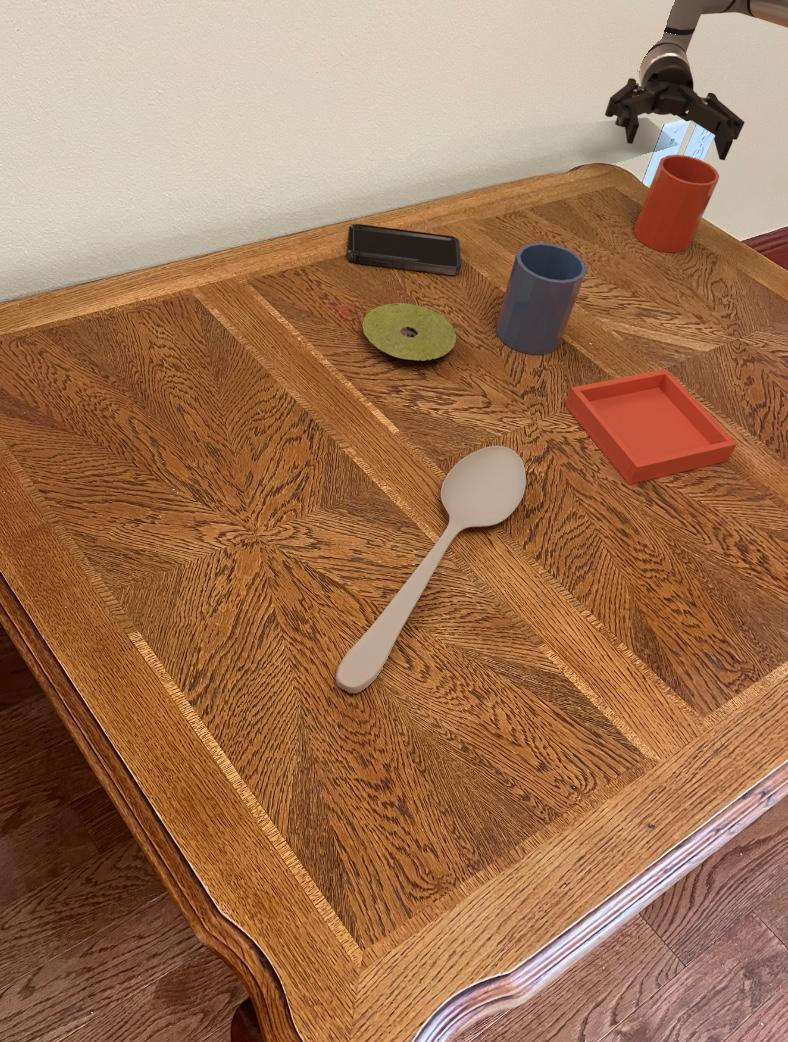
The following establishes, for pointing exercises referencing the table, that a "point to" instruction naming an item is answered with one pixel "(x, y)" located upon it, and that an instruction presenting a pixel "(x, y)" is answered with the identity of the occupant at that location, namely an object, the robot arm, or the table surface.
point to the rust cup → (675, 203)
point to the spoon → (440, 551)
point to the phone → (403, 249)
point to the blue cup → (540, 297)
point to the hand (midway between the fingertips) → (679, 142)
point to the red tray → (649, 425)
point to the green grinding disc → (409, 331)
